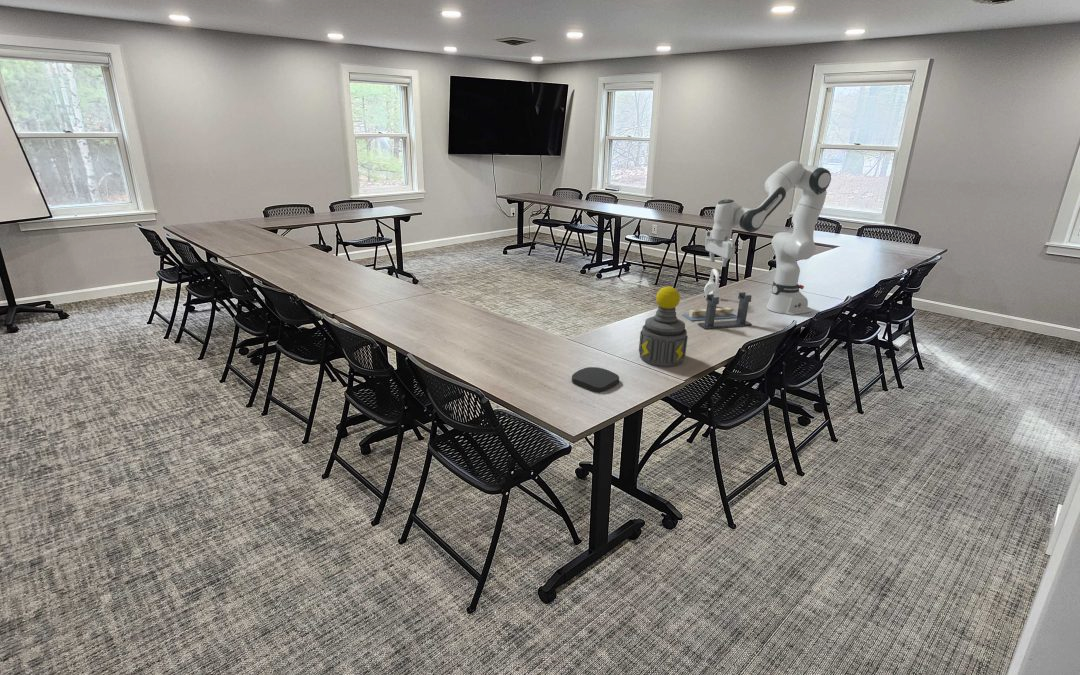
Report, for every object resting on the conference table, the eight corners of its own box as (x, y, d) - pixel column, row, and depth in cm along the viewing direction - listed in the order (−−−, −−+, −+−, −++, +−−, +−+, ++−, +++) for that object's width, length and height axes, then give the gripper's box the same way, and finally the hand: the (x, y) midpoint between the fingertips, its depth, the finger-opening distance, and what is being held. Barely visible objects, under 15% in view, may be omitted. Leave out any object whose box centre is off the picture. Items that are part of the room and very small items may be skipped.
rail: (728, 313, 283) (729, 307, 282) (731, 314, 280) (732, 309, 279) (688, 315, 278) (689, 310, 276) (691, 317, 275) (692, 311, 274)
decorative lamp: (695, 361, 226) (704, 289, 215) (660, 371, 216) (669, 296, 206) (661, 346, 241) (669, 278, 230) (628, 354, 231) (634, 284, 220)
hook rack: (744, 321, 273) (748, 291, 268) (751, 325, 268) (756, 295, 263) (697, 324, 267) (702, 294, 262) (704, 329, 262) (708, 298, 256)
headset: (720, 308, 292) (725, 275, 285) (706, 307, 293) (711, 274, 286) (714, 297, 310) (719, 265, 304) (701, 296, 311) (706, 265, 305)
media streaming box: (599, 395, 197) (600, 387, 196) (567, 382, 206) (567, 375, 205) (623, 382, 207) (623, 375, 206) (591, 370, 216) (591, 363, 215)
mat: (728, 312, 286) (728, 310, 286) (738, 317, 278) (738, 316, 278) (682, 315, 280) (682, 314, 280) (691, 321, 272) (691, 320, 272)
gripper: (740, 239, 256) (735, 269, 261) (715, 230, 274) (712, 258, 279) (727, 239, 254) (723, 269, 259) (704, 231, 273) (700, 259, 278)
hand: (717, 264), depth 270 cm, fingers open, 8 cm apart
